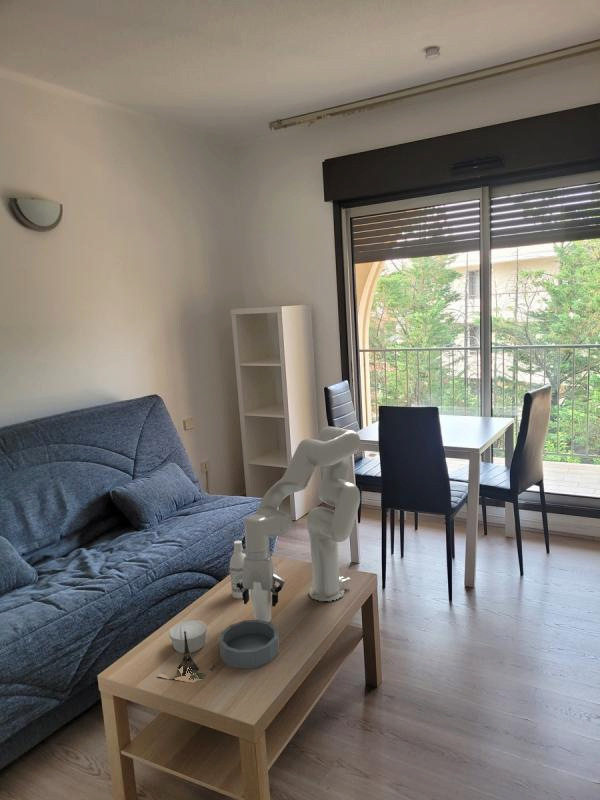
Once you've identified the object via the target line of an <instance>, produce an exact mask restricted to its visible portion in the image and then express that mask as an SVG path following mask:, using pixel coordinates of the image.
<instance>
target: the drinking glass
mask: <svg viewBox="0 0 600 800" xmlns="http://www.w3.org/2000/svg"><path fill="white" fill-rule="evenodd" d="M250 590H251V594H250V596H251V603H252V608H253V615H254V620H262V621H266V622H270V621H271V620H272V612H271V611H272V609H271V608H272V592H271V591H270V590H262V588H261V583H260V582H253V589H250ZM270 623H271V622H270Z"/></svg>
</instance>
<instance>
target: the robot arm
mask: <svg viewBox="0 0 600 800" xmlns="http://www.w3.org/2000/svg"><path fill="white" fill-rule="evenodd" d="M318 435H319V436H318V439H313V438H305V439H302V440H301V441H300V442H299V443H298V444H297V447H296V448H295V451H294V453H293V455H292V457H291V459H290V461H289V464H288V466H287V467H286V470H285V472H284V474H283V476H282V477H281V479H279V480H278V481H276V482H275V483H274V484H273V485H272V486H271V487H270V488H268V490H267V491H266V492H265V494H264V495H263V497H262V499H261V501H260V503H259V505H258V506H257V510H256V513H255V514H251V515H248V516H247V517H246V518H245V519H244V537H245V538H244V540H245V542H244V543H245V548H242V553H244V554H245V555H246V557H245V558H244V561H243V573H242V574H240V575H238V576H236V577H235V578H234V581H235V583H236V584H237V587H238V588H239V589H240V590H241V592H242V596H243V598H242V601H243V604H244V605H247V604H248V602H249V601H250V596H249V590H248V589H253V582H260V583H261V588H262V590H270V591H271V607H272V608H273V607H274V608H275V607H276V605H277V604H278V603H279V592H280V591H281V590H282V589H283V588H284V585H285V583H286V579H284V578H282V577H280V576H278V575H277V574H276V573H275V570H276V569H275V565H274V560H273V557H272V555H270V538H272V537H281V536H285V535H286V534H288V533H290V532H291V530H292V529H293V526H294V521H293V518H292V517H291V516H290V515H289V514H288V513H286V512H284V511H281V510H279V506H280V505H281V503H282V501H284V500H285V499H286V498H287V497H288V496H289V495H292V494H295V493H298V492H300V491H303V490H306V489H307V486H308V484H309V482H310V479H311V477H312V475H313V473H314V472H315V469H316V468H317V467H320V468H324V472H323V474H322V475H323V476H322V478H321V482H320V485H319V490H318V497H319V499H320V501H321V502H322V503H325V504H326V505H329V506H332V507H334V510H333V509H330V508H328V507H325V506H316V507H313V508H312V509H311V510H310V511H309V512H308V514H307V515H306V527H307V531H308V536H309V541H310V542H309V543H310V555H311V571H312V573H311V574H312V586H311V587H310V588H309V590H308V595H309V596H310V598H311V599H313V600H314V599H315V601H317V600H318V601H317V602H323V601H328V602H333V601H332V600H334V601H337V600H340V599H341V598H342V597H344V595H345V593H344V592H345V588H344V586H345V585H347V584H350V583H352V579H351V577H348V576H347V577H346V578H345V577H344V576H340V564H339V563H340V562H339V547H338V545H339V544H338V543H342V542H345V541H346V540H347V539H348V538H349V537H350V535H351V533H352V531H353V529H354V524H355V522H356V517H357V514H358V510H359V507H360V503H361V493H360V490H359V488H358V486H357V485H356V484H354V483H352V482H351V481H350V482H349V481H348V478H349V473H350V470H351V459H350V457H351V456H353V455H354V454H356V453H357V452H358V450H359V449H360V447H361V437H360V436H359V434H358V433H357V432H356V431H355V430H351V429H348V428H347V429H346V428H342V427H337V426H324V427H323V428H322V429H321V430H320V431H319V434H318ZM240 579H242V582H240ZM276 582H277V583H279V585H278V586H277V585H276ZM340 597H341V598H340ZM339 598H340V599H339ZM336 599H337V600H336Z"/></svg>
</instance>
